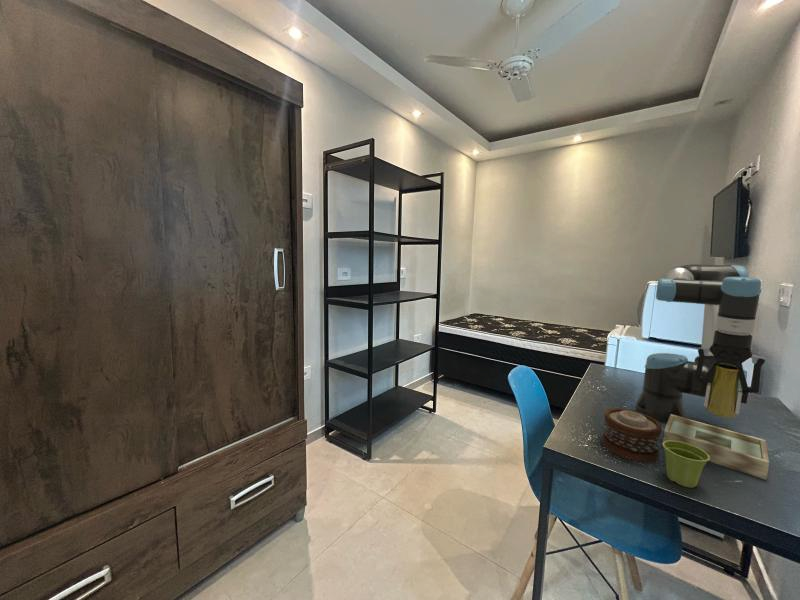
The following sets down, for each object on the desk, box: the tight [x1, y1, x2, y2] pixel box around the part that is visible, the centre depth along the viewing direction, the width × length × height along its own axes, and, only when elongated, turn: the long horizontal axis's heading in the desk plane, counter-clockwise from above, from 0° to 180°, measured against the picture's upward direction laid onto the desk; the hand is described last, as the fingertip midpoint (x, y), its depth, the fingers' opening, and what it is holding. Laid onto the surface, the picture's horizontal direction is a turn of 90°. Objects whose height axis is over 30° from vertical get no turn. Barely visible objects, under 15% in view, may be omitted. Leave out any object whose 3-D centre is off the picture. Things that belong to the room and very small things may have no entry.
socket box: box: [661, 414, 770, 481], centre depth 100 cm, size 22×16×5 cm
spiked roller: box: [602, 408, 663, 463], centre depth 101 cm, size 15×11×15 cm
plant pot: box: [661, 440, 710, 489], centre depth 86 cm, size 9×9×9 cm
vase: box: [705, 363, 739, 419], centre depth 95 cm, size 6×6×14 cm
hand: (720, 408), depth 96 cm, fingers closed on vase, 6 cm apart
